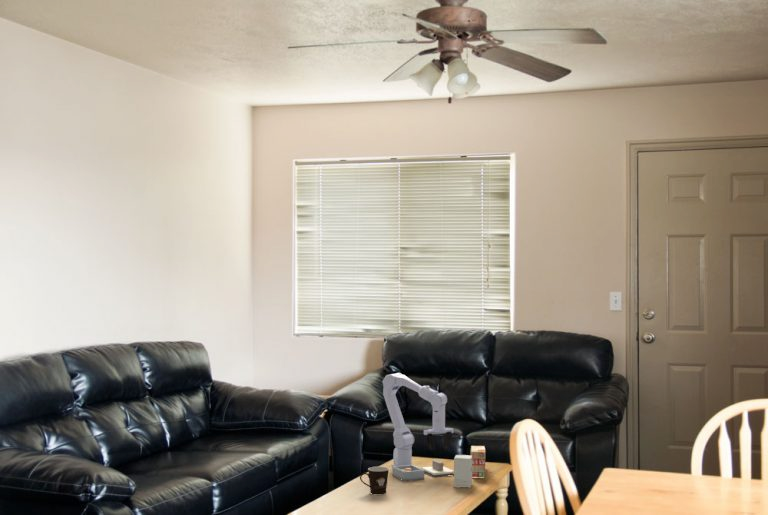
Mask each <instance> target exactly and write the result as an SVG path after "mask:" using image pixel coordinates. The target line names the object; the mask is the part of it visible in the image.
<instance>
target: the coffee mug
mask: <svg viewBox="0 0 768 515" xmlns="http://www.w3.org/2000/svg"><path fill="white" fill-rule="evenodd" d="M389 470H390V469H389V467H386V466H372V467H368V468H367V471H368V473H367V472H363V473H361V474H360V476H359V479H360V481H361V483H362V484H364V485H365V486H366V487H369V490H370V494H371V493H372V494H371V495H374V494H383V495H385V494H384V493H386V494H387V486H388V478H389ZM364 475H366V476H367V477H368V478H369V480H368V481H369V482H368V483H369V484H368V483H366V482H365V481H363V479H362V477H363V476H364Z"/></svg>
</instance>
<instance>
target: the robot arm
mask: <svg viewBox="0 0 768 515" xmlns="http://www.w3.org/2000/svg"><path fill="white" fill-rule="evenodd" d="M382 384H383V390H382V394H383V398H384V401H385V405H386V408H387V411H388V414H389V417H390V419H391V423H392V425H393V429H394V431H393V433H392V436H393V445H394V446H395V448H394V449H393V457H392V458H393V459H392V461H393V463H392V464H391V466H392V467H393V466H403V465H413V463H412V462H413V461H412V454H413V450H412V447H413V444H414V443H415V436H414V434H412V432H411V429H410V428H409V427H408V426H406V424H405V420H404V417H403V414H402V411H401V407H400V406H399V402H398V399H397V396H396V394H397V393H398V390H399V389H400V388H401V387H406V388H408V389H409V390H412V391H414V392H417V393H418V397H420V398H422V399H423V400H425V401H427V402H429V403H430V404H431V407H432V428H429V429H423V435H424V437H425V439H426V441H427V445H428V449H429V450H430V451H433V450H434V440H435V436H434V435H439V434H440V435H441V434H442V436H443V448H444V449H445V450H448V449H449V444H450V442H451V439H452V438H453V435H454V434H453V433H454V430H455V429H454V428H452V427H446V404H447V403H448V397H447V394H445V393H444V392H439V391H438V390H434V389H432V388H431V386H430V385H423V386H422V385H420V384H419V383H417V382H416V381H414V380H412V379H411V378H409V377H408V376H406V374H402V373H401V372H396V373H391V374H386V375H385V377H384V378H383V379H382Z"/></svg>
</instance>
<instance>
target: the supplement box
mask: <svg viewBox="0 0 768 515" xmlns="http://www.w3.org/2000/svg"><path fill="white" fill-rule="evenodd" d="M453 471H454V476H453V487H454V488H460V487H470V488H471V487H472V485H473V478H472V456H471V454H470V455H468V454H467V455H466V454H455V456H454V458H453ZM471 484H472V485H471Z"/></svg>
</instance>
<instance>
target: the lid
mask: <svg viewBox="0 0 768 515" xmlns="http://www.w3.org/2000/svg"><path fill="white" fill-rule="evenodd" d="M420 468H421V469H423V470H424V471H426V472H428V473H430V474H433V475H444V474H450V473H454V469H453V470H452V469H451V468H448V467H446V466H444V462H443V461H440V460H437V459H436V460H435V459H434V460H432V466H422V467H420Z"/></svg>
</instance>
